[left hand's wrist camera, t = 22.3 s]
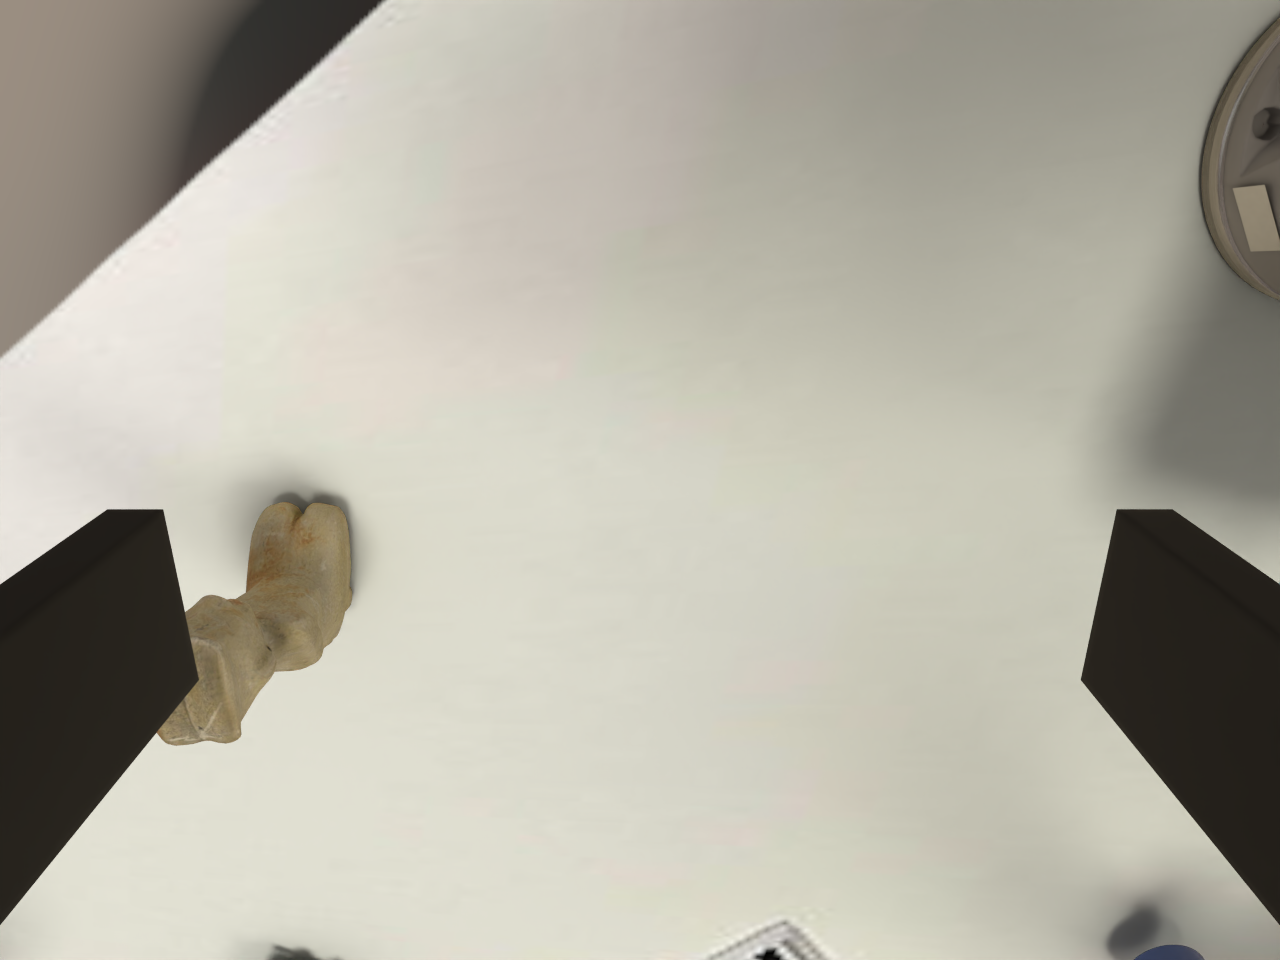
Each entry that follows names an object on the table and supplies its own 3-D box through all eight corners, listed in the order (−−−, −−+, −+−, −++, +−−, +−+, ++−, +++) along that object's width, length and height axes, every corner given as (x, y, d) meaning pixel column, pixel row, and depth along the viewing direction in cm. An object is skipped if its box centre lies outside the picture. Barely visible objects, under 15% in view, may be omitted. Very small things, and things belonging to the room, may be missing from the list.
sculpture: (366, 495, 48) (252, 644, 34) (374, 612, 50) (272, 795, 36) (257, 491, 48) (98, 638, 34) (271, 608, 50) (129, 790, 36)
